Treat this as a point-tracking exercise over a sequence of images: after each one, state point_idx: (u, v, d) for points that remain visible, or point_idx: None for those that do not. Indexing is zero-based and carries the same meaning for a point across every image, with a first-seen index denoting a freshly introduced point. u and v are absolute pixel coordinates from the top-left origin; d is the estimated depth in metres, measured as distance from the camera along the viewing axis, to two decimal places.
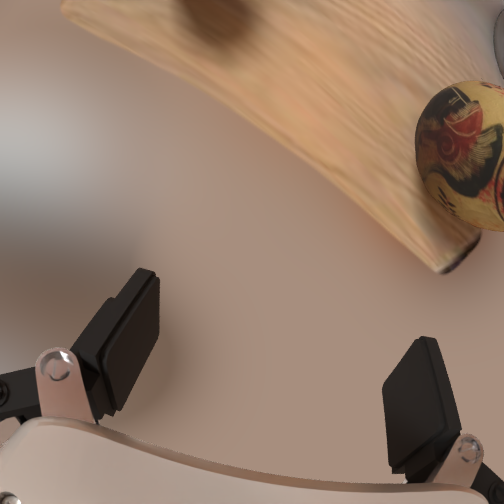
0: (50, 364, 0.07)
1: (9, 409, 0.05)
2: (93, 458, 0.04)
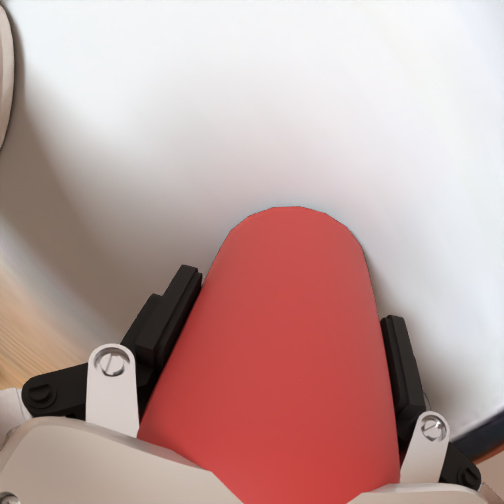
0: (103, 360, 0.07)
1: (60, 408, 0.06)
2: (93, 458, 0.04)
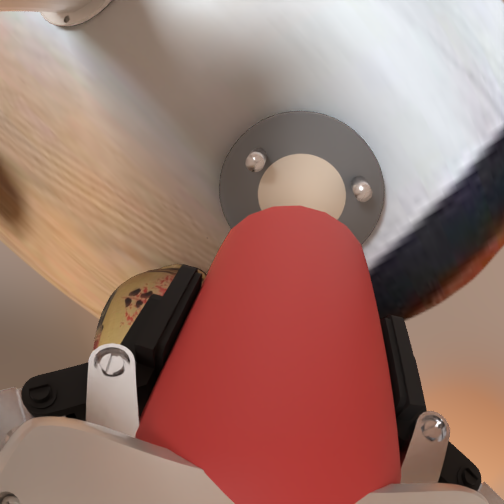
0: (104, 360, 0.07)
1: (60, 408, 0.06)
2: (93, 458, 0.04)
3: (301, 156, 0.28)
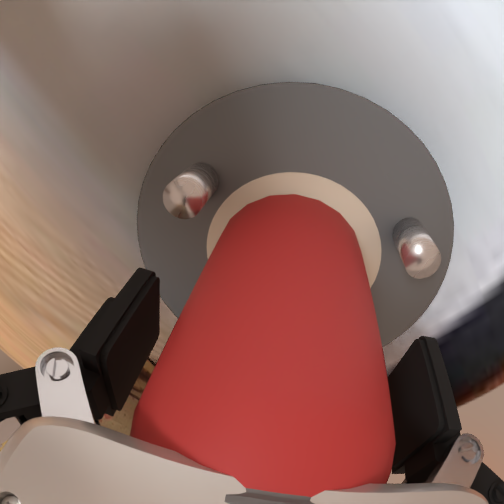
0: (50, 364, 0.07)
1: (9, 409, 0.05)
2: (93, 458, 0.04)
3: (291, 177, 0.13)
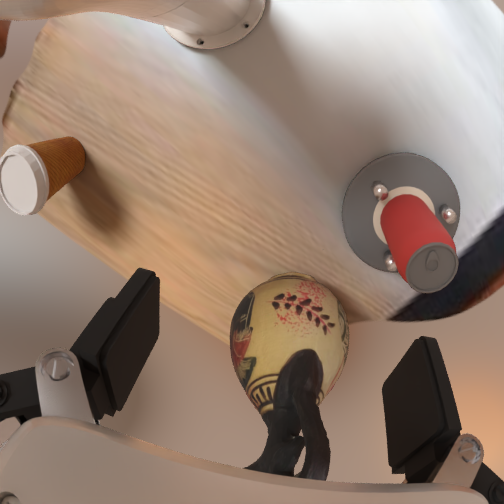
0: (50, 364, 0.07)
1: (9, 409, 0.05)
2: (93, 458, 0.04)
3: (408, 188, 0.35)
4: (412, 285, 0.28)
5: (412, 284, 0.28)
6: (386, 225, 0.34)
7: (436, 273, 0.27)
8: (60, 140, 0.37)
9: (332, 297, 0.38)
